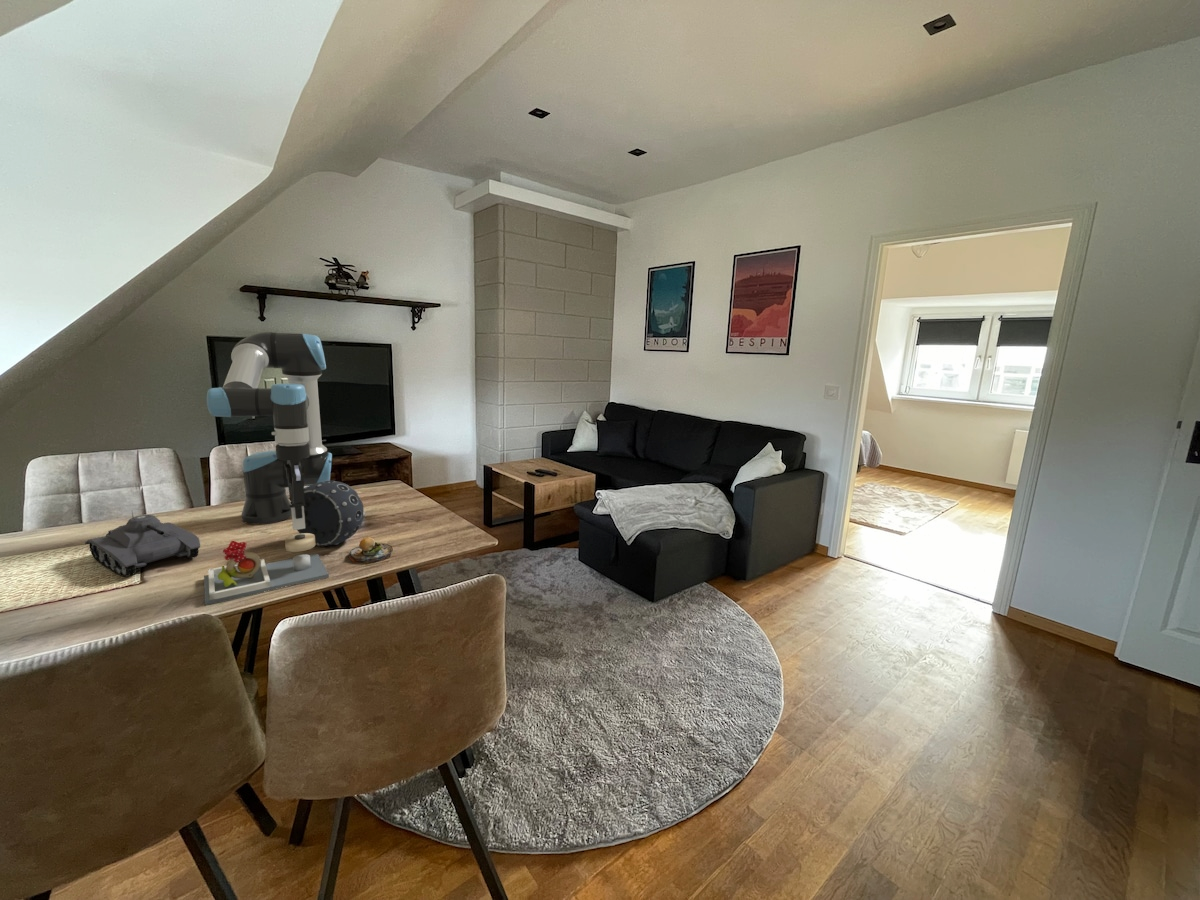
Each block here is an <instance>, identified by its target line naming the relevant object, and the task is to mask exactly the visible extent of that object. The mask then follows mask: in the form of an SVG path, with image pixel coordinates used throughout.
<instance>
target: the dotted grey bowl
mask: <svg viewBox="0 0 1200 900" xmlns="http://www.w3.org/2000/svg"><path fill="white" fill-rule="evenodd" d="M304 500H305V505H304V516H305V529H299V530H296V531H297V532H298V534H301V533H310V534H314V535H315V544H316V545H315V546H318V547H319V546H321V547H327V546H334V545H339V544H340V543H341V544H342V543H343V542H345V541H347V540H348V539H350V538H351V537H353V536H354V535H355V534H356V533H357V532H358V530H359V529H360V528H361V526H362V524H363V522H364V518H365V513H364V512H365V511H364V503H363V501H362V499H361V497H360V496H359V494H358V492H357V491H356V490H355V489H353V488H352V487H351V486H350V485H348V484H346V483H344V482H342V481H338V480H337V481H336V480H330V481H322V482H318V483H315V484H313V485H310V486H304ZM291 517H292V514H291Z"/></svg>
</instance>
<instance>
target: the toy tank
mask: <svg viewBox="0 0 1200 900" xmlns="http://www.w3.org/2000/svg"><path fill="white" fill-rule="evenodd" d="M131 515H132V516H131V517H130V518H129V519H128V521H127V522H126V523H125V524H123V525H120V526H118V527H116V528H114V529H111V530H108V532H107V533H106V535H104V536H100V537H99V536H98V537H95V538H90V539H87V540H86V541H85V543H84V545H88V546H89V552H90V554H91V556H92V557H93V559H94V560H95V561H97V563H98V564H100V565H101V566H103V567H104V568H106V569H108V570H109V571H111V572H113V573H115V574H116V575H119V576H121V577H129V576H133V575H134V574H136V573H137V568H142V567H146V566H147V564H148V563H152V562H157V561H161V560H163V559H167V558H171V557H174V556H176V557H179V558H180V557H181V558H185V559H193V558H197V557H199V556H198V555H199V551H200V550H199V549H200V548H201V541H200V537H198V536H197V534H195V533H193V532H191V531H189V530H187V529H184V528H183V527H180V526H179V525H176V524H174V523H172V522H161V521H160V519H159V518H157V516H155V515H153V514H142V515H136V516H134V513H133V511H131Z"/></svg>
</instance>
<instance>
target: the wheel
mask: <svg viewBox="0 0 1200 900" xmlns="http://www.w3.org/2000/svg"><path fill="white" fill-rule="evenodd" d="M284 546H285V549H284V550H285V551H286V552H287V551H288V552H291V553H292V552H293V553H296V552H299V553H300V552H304V551H305V552H306V551H308V550H311V549H314V547H315V546H317V545H316V544H315V535H314V534H310V533H301V534H300V533H297V534H292V535H289V536H287V537H285V539H284Z"/></svg>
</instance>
